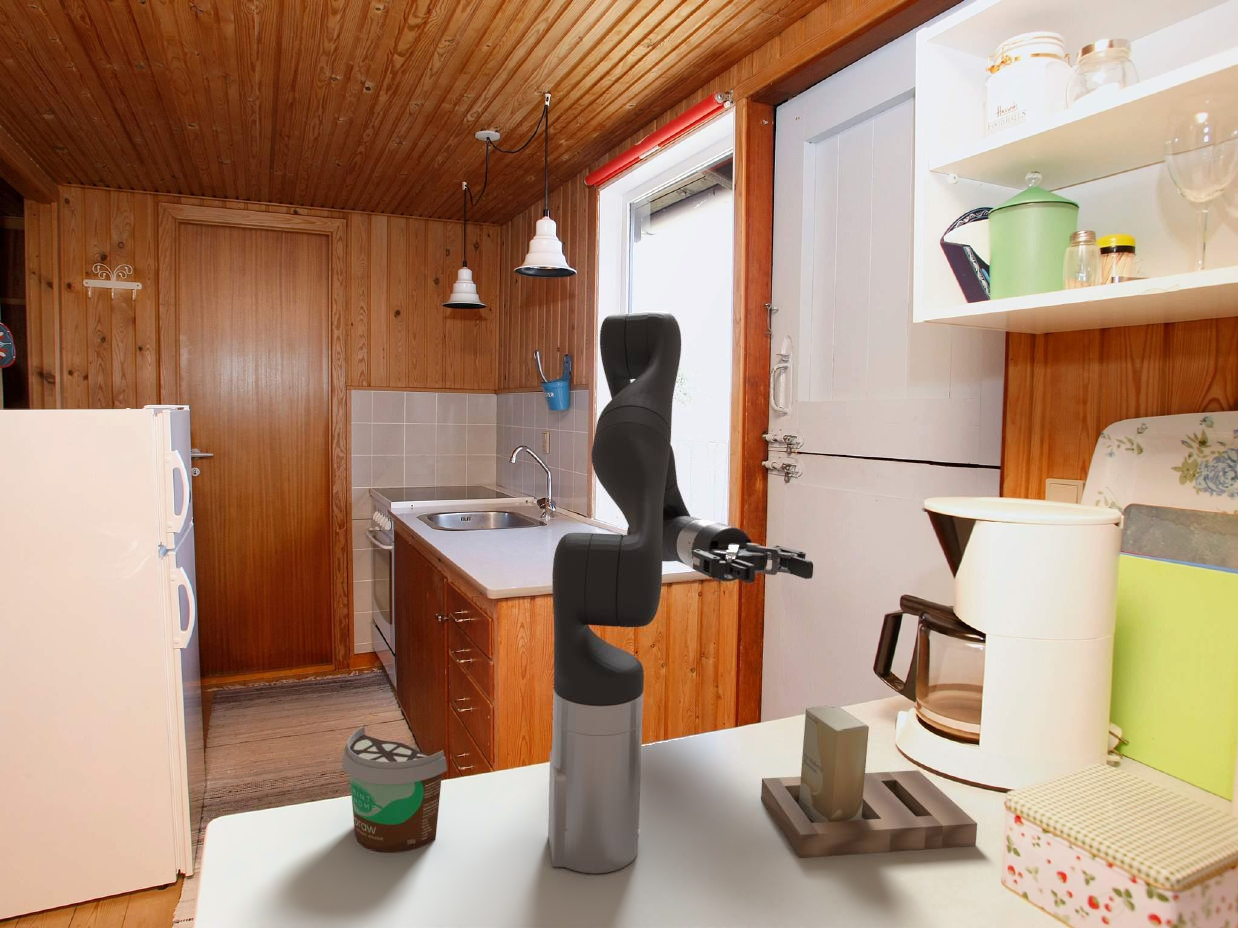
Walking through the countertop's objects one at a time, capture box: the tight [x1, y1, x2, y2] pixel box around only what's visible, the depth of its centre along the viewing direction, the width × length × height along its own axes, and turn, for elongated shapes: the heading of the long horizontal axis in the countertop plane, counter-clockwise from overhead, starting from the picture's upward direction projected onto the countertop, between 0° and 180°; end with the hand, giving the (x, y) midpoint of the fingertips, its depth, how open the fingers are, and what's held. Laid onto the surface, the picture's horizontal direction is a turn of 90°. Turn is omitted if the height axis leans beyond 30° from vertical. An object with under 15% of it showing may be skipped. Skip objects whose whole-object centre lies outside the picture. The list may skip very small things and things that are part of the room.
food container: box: [341, 726, 448, 854], centre depth 83 cm, size 12×6×10 cm, turn 62°
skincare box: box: [799, 703, 870, 823], centre depth 89 cm, size 6×4×12 cm
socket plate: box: [760, 769, 978, 859], centre depth 90 cm, size 20×12×2 cm, turn 99°
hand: (782, 572), depth 97 cm, fingers open, 8 cm apart
